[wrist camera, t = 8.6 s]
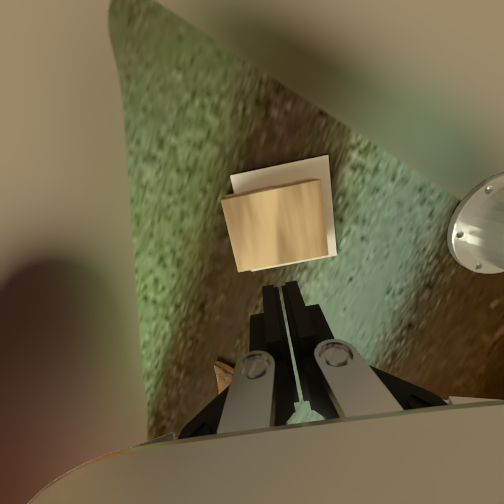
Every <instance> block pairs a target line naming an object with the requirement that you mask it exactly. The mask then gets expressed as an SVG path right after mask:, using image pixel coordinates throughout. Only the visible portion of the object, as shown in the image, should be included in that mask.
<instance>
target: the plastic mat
mask: <svg viewBox="0 0 504 504" xmlns="http://www.w3.org/2000/svg"><path fill="white" fill-rule="evenodd" d="M230 177H231V181H232V186H233V190H234V193H239V192H244V191H249V190H254V189H258V188H263V187H268V186H273V185H278V184H283V183H287V182H292V181H297V180H302V179H307V178H316V179H321V182H322V192H323V203H324V213H325V223H326V233H327V244H328V254H329V255H327V256H321V257H316V258H311V259H306V260H300V261H295V262H290V263H285V264H279V265H274V266H269V267H263V268H258V269H253V270H251V271H256V270H262V269H267V268H272V267H278V266H283V265H288V264H293V263H299V262H304V261H309V260H315V259H320V258H325V257H330V256H336V255H337V252H336V240H335V228H334V216H333V205H332V193H331V181H330V169H329V158H328V155H325V156H320V157H315V158H311V159H306V160H301V161H296V162H292V163H287V164H282V165H277V166H273V167H268V168H263V169H259V170H254V171H249V172H244V173H240V174H235V175H230Z"/></svg>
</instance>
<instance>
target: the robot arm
mask: <svg viewBox="0 0 504 504" xmlns="http://www.w3.org/2000/svg"><path fill="white" fill-rule="evenodd" d="M447 241H448V247H449V250H450V253H451V255H452V256H453V258H454V259H455V260H456V261H457V262H458V263H459V264H460V265H462V266H464V267H466V268H467V269H470V270H472V271H474V272H478V273H484V274H492V273H499V272H504V172H502V173H499V174H497V175H494V176H492V177H490V178H488V179H486V180H484V181H483V182H481V183H480V184H478V185H477V186H476V187H475V188H473V189H472V190H471V191H470V192H469V193H468V194H467V195H466V196H465V197H464V198H463V199H462V201H461V202H460V204H459V205H458V206H457V208H456V210H455V212H454V214H453V215H452V217H451V220H450V224H449V227H448V234H447ZM281 287H282V292H283V298H284V304H285V309H286V315H287V321H288V326H289V332H290V337H291V342H292V347H293V352H294V356H295V361H296V366H297V371H298V376H299V380H300V385H301V390H302V395H303V400H304V401H309V402H310V406H311V410H315V411H316V412H317V413H319V414H320V415H322V416H323V419H324V420H320V421H312V422H305V423H297V424H289V425H288V422H287V421H288V420H289V418H290V417H291V416H292V414H293V413H294V412H295V406H294V402H299V397H298V392H297V386H296V381H295V375H294V370H293V365H292V359H291V354H290V348H289V343H288V337H287V332H286V327H285V322H284V316H283V311H282V306H281V300H280V295H279V290H278V287H273V285H268V286H262V291H263V307H264V313H261V314H255V315H251V316H250V344H249V353H246V354H245V355H243V356H242V357H241V358H240V359H239V360H238V361H237V363H236V365H235V369H234V372H233V376H232V380H231V383H230V385H229V386H228V387H226V388H225V389H224V390H223V391H222V392H221V393H220V394H219V395H218V396H217V397H216V398H215V399H214V400H212V401H211V402H210V403H209V404H208V405H207V406H206V407H205V408H204V409H203V410H202V411H201V412H200V413H199V414H197V415H196V416H195V417H194V418H193V419H192V420H191V421H190V422H189V423H188V424H187V425H186V426H185V427H184V428H183V429H182V431H181V433H180V434H178V435H175V434H174V432H172V433H169V434H167V435H164V436H161V437H159V438H156V439H153V440H151V441H148V442H145V443H142V444H140V445H137V446H134V447H132V448H127V449H123V450H120V451H116V452H112V453H109V454H106V455H104V456H101V457H99V458H96V459H94V460H91V461H88V462H86V463H84V464H83V465H81V466H79V467H77V468H75V469H73V470H71V471H69V472H67V473H65V474H64V475H62V476H61V477H59V478H57V479H56V480H55V481H53V482H52V483H50V484H49V485H47V486H46V487H45V488H44V489H43V490H41V491H40V492H39V493H38V494H37V495H35V497H33V499H32V500H31V501H30V502H29V503H28V504H504V400H494V399H480V398H466V397H453V396H449V400H443V399H441V398H440V397H439V396H437V395H435V394H433V393H431V392H430V391H427V390H425V389H423V388H420V387H418V386H416V385H413V384H411V383H409V382H407V381H404V380H402V379H400V378H397V377H395V376H393V375H390V374H388V373H386V372H384V371H381V370H379V369H377V368H374V367H372V366H370V365H368V364H367V362H366V361H365V360H364V359H363V357H362V356H361V355H360V353H359V352H358V351H357V350H356V348H355V347H354V346H352V345H351V344H350V343H348V342H346V341H343V340H339V339H334V336H333V334H332V332H331V330H330V328H329V325H328V323H327V321H326V319H325V317H324V315H323V312H322V310H321V308H320V306H319V304H316V305H310V306H305V304H304V301H303V298H302V295H301V292H300V290H299V287H298V284H297V281H291V282H285V286H281Z"/></svg>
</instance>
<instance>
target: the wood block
mask: <svg viewBox="0 0 504 504" xmlns="http://www.w3.org/2000/svg"><path fill="white" fill-rule="evenodd" d="M221 202H222V207H223V211H224V215H225V219H226V223H227V227H228V231H229V236H230V240H231V244H232V248H233V252H234V256H235V260H236V265H237V269H238V272H242V271H248V270H253V269H258V268H263V267H269V266H274V265H279V264H285V263H290V262H295V261H300V260H306V259H311V258H316V257H321V256H327V255H329V254H328V244H327V233H326V223H325V213H324V203H323V192H322V182H321V179H316V178H307V179H302V180H297V181H292V182H287V183H283V184H278V185H273V186H268V187H263V188H258V189H254V190H249V191H244V192H239V193H234V194H229V195H225V196H224V197H223V198H222V200H221Z"/></svg>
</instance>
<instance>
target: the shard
mask: <svg viewBox="0 0 504 504" xmlns="http://www.w3.org/2000/svg"><path fill="white" fill-rule="evenodd" d="M214 367H215V372H216V375H217V381H218V390H219V394H220V393H221V392H222V391H223V390H224V389H225V388H226V387H228V386H229V385H230V383H231V380H232V376H233V372H234V369H233V368H232V367H230V366H228V365H226V364H224V363H222V362H219V361H215V362H214Z"/></svg>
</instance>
